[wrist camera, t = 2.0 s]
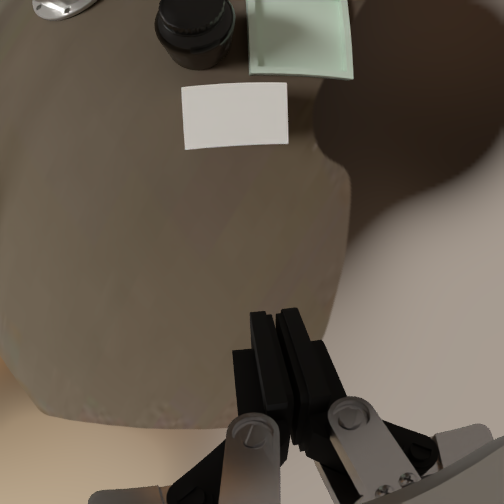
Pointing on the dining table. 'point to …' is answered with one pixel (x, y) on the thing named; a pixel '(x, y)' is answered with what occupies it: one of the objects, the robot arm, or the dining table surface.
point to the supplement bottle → (195, 31)
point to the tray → (299, 38)
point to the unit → (235, 114)
